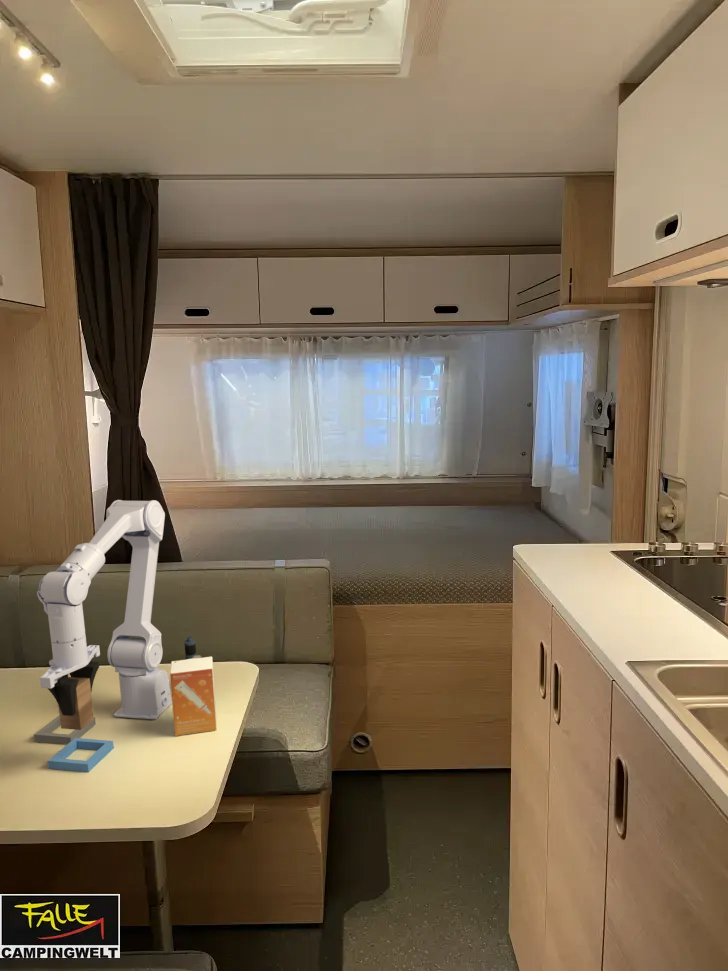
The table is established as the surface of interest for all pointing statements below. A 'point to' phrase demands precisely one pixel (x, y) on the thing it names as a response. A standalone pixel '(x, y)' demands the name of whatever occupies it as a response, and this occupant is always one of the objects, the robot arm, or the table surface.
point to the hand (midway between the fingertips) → (76, 708)
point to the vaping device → (190, 649)
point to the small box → (193, 695)
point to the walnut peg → (79, 707)
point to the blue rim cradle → (79, 765)
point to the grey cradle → (49, 737)
